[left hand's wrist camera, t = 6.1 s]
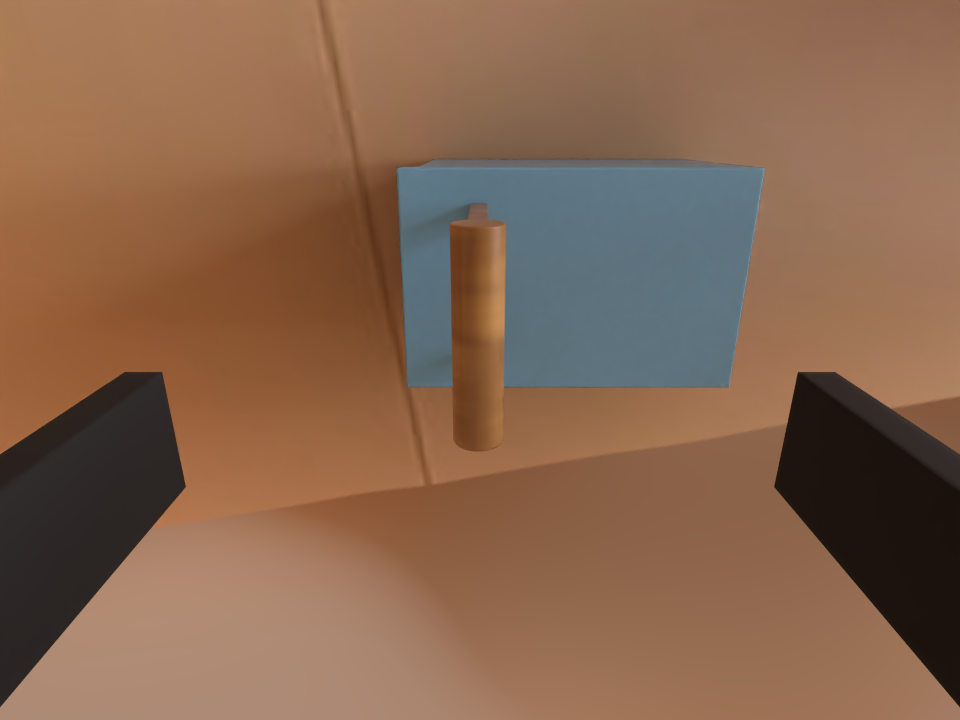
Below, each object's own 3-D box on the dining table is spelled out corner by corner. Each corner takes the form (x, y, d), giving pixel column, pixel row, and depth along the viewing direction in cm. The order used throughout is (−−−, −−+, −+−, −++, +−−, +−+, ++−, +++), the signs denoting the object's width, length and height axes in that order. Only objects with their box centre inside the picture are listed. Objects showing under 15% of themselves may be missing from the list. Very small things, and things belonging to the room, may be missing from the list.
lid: (409, 379, 27) (378, 484, 19) (399, 166, 24) (356, 181, 15) (721, 379, 27) (825, 484, 19) (754, 166, 23) (899, 181, 15)
